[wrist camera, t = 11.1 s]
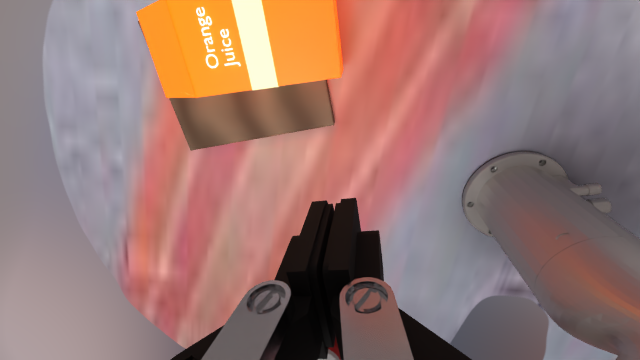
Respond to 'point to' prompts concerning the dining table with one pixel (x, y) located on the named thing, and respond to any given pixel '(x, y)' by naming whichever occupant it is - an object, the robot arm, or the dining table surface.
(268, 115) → the walnut board
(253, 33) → the orange juice
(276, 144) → the dining table surface
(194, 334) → the dining table surface
